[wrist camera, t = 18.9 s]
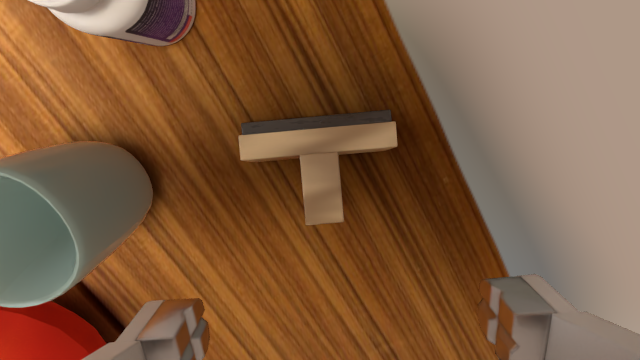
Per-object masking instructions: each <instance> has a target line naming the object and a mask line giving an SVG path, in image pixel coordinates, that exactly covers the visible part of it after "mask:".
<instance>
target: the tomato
mask: <svg viewBox="0 0 640 360" xmlns="http://www.w3.org/2000/svg"><path fill="white" fill-rule="evenodd" d="M104 345H106V342H105V341H104V340H103V338H102V337H101V336H100V334H99V333H98V331H97V330H96V329H95V328H94V327H93V326H92V325H91V324H89V323H88V322H87V321H85V320H84V319H82V318H81V317H80V316H78V315H77V314H76V313H74V312H72V311H70V310H68V309H66V308H64V307H63V306H61V305H59V304H57V303H55V302H52V301H49V302H46V303H43V304H40V305H36V306H30V307H24V308H8V307H2V306H0V360H82V359H83V358H85V357H87V356H88V355H90V354H91V353H93V352H95V351H96V350H98V349H99V348H101V347H103V346H104Z"/></svg>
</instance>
